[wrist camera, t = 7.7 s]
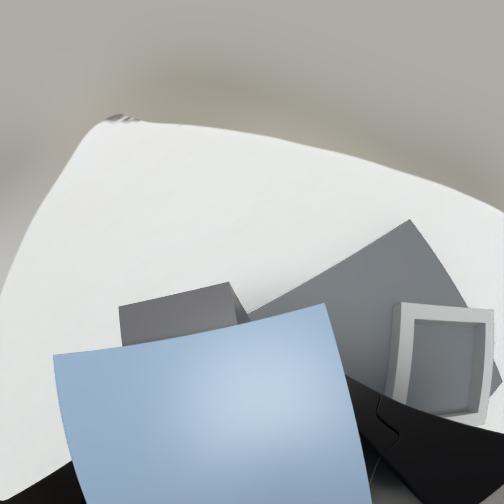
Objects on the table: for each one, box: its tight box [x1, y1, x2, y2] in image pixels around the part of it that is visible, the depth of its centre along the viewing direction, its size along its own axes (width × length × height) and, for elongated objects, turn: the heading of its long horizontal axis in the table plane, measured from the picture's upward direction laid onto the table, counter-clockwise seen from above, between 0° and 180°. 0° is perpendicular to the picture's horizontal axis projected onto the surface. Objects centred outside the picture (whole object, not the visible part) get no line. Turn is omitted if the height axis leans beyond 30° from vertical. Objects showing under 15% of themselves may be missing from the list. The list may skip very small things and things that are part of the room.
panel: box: [247, 219, 502, 426], centre depth 15 cm, size 22×17×2 cm
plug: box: [53, 282, 372, 504], centre depth 9 cm, size 5×4×13 cm
